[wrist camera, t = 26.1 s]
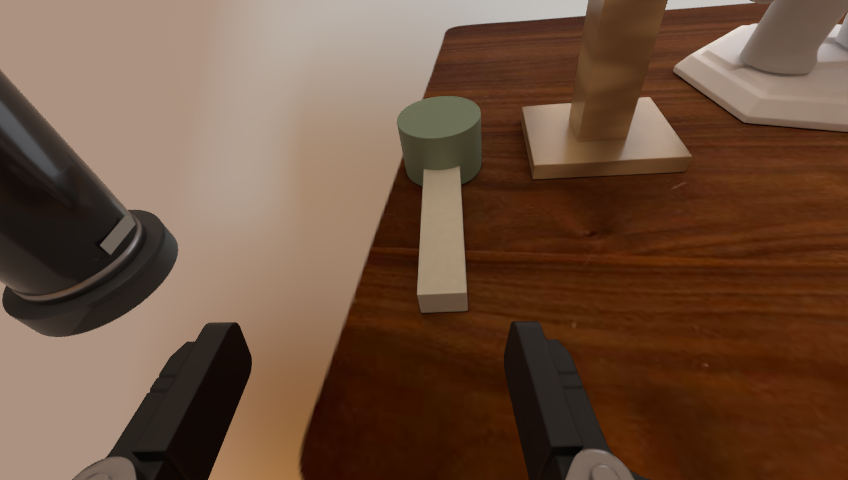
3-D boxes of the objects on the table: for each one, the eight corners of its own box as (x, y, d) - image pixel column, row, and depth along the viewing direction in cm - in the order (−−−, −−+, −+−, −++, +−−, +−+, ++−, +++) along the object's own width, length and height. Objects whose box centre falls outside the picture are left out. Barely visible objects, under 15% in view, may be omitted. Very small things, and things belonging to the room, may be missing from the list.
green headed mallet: (390, 314, 25) (373, 264, 21) (408, 144, 38) (400, 97, 35) (500, 310, 24) (502, 257, 20) (478, 138, 38) (477, 89, 34)
